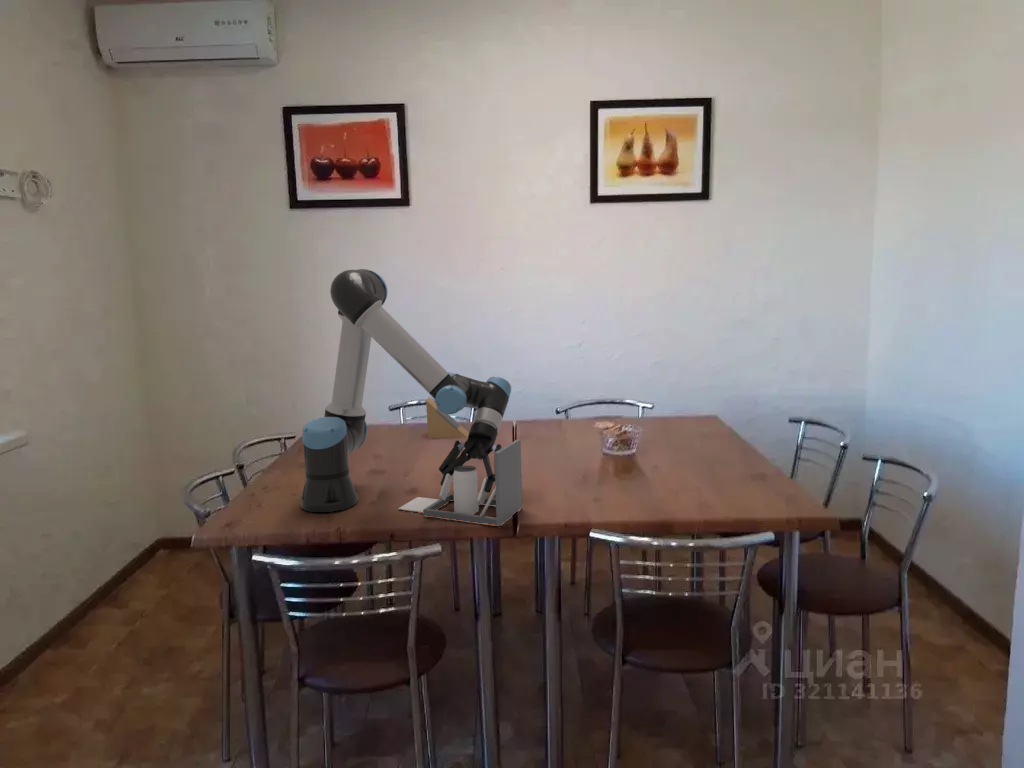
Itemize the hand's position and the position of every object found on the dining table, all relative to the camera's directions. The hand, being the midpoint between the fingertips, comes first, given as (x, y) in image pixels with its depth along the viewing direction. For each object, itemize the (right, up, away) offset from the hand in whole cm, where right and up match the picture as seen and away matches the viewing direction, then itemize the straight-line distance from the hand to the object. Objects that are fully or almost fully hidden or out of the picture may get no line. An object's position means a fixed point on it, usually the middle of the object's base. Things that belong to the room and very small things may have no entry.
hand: (460, 500), depth 184 cm
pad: (-12, -3, +9) cm, 15 cm away
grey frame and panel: (+3, -4, +3) cm, 6 cm away
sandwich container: (-11, +10, +88) cm, 89 cm away
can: (+1, -4, +3) cm, 5 cm away
